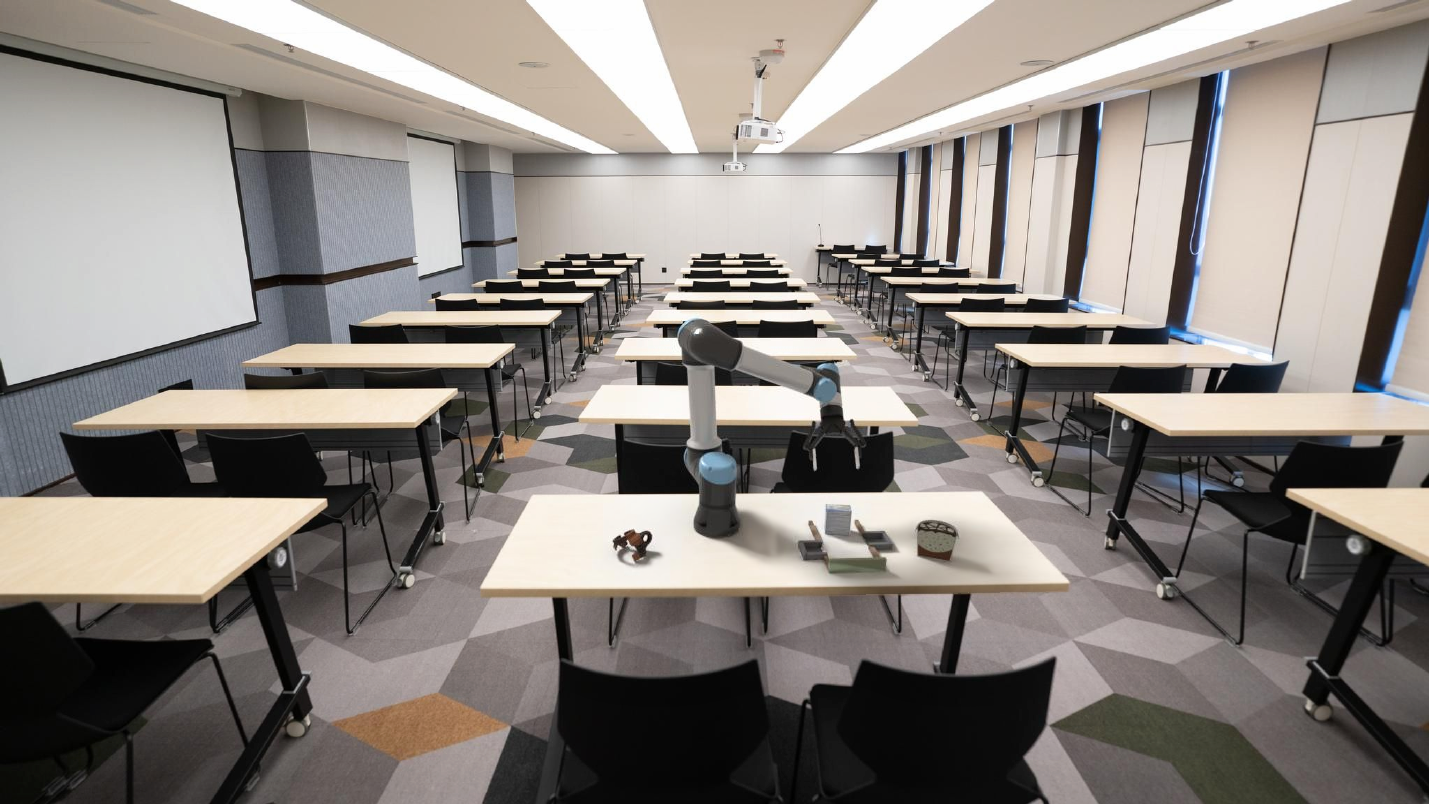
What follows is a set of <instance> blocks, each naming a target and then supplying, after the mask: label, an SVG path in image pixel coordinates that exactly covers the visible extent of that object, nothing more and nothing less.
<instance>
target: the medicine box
mask: <svg viewBox="0 0 1429 804" xmlns="http://www.w3.org/2000/svg"><path fill="white" fill-rule="evenodd" d="M824 512H825V513H824V524H823V525H824V534H826V535H838V536H839V535H841V536H843V535H844V536H850V534H851V524H852V523H851V522H852V516H853V515H852V512H853V511H852V507H851V505H850V504H835V503H826V504H825V511H824Z"/></svg>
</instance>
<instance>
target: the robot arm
mask: <svg viewBox="0 0 1429 804" xmlns="http://www.w3.org/2000/svg"><path fill="white" fill-rule="evenodd" d="M676 337H677V338H676V339H677V343H678V345H679V347H680V348H681V362H682V365H683V366H684V367H685V368H686V369H687V370H686V371H687V389H688V390H687V391H688V404H689V406H688V407H689V410H688V411H689V425H690V428H689V429H690V438H688V440H687V441H686V449H685V451H684V454H683V461H684V464H685V467H686V469H687V471H688V472H689V473H690V474H691V476H692V477H693V478H694V480H695V481H696V483H697V484H698V488H699V489H698V491H699V495H698V496H699V497H698V506H697V508H696V510H695V514H694V516H693V522H692V523H693V529H694V530H695V531H696V532H697V533H698V534H700V535H703V536H705V537H706V536H707V537H710V538H725V537H730V536H733V535H735V534H737V533H738V532H740V530H741V517H740V513H739V512H738V508H737V505H736V504H737V502H736V500H737V499H736V498H737V475H738V468H737V462H736V460H735V458H734V457H733V456H732V455H730V454H728V453H727V454H725V452H723V443H722V439H721V438H720V437H719V436H718V432H717V429H718V428H717V409H716V408H717V407H716V405H717V404H716V403H717V402H716V400H717V399H716V380H715V379H716V378H715V376H716V375H715V367H717V368H720V369H723V370H726V371H729V372H732V371H734V370H736V371H739V372H742V373H744V374H747V375H749V376H753V377H756V378H758V379H761V380H764V381H767V382H770V383H773V384H775V385H778V386H781V387H783V388H787V389H789V390H792V391H795V392H797V393H799V394H803V395H805V396H808V397H811V398H813V399H815V400H816V401H818V403H819V408H820V410H819V414H820V421H819V422H818V421H815V420H812V422H811V427H810V430H809V431H808V434H807V436H806V439H805V441H804V442H803V446H802V447H803V450H804V451H808V453H809V455H808V456H809V457H808V458H809V460H810V461H812V463H813V471H814V472H815V471H817V469H818V467H817V458H816V457H817V454H816V447H817V445H818V444H819V443H820V442H821V441H822V439H823V438H824V437H825V436H826V435H828V436H832V435H834V436H835V435H836V436H838V435H841V436H842V437H844V438H845V439H846V440H848V442H849V443H850V444H851V445H852V446H853V447H854V458H855V459H854V460H855V467H856V469H857V470H859V469H860V459H861V458H862V457H863V453H862V451H863V450H862V448H865V447H866V446H867V441H866V440H865V438H864V437H863V435H862V434H861V432H860V431H859V429H858V428H857V427H856V424H855V420H854V418H850V420H845V417H844V410H843V409H844V408H843V399H842V390H841V388H842V387H841V375H840V371H839V368H838V366H837V365H836V364H835V363H830V362H829V363H826V362H825V363H822V364H820V365H818V366H817V368H816V367H811V366H805V365H802V364H794V363H790V362H787V361H784V360H782V359H779V358H777V357H774V356H771V355H769V354H766V353H763V352H761V351H759V350H756V349H754V348H750V347H749V346H745V345H744V344H743V342H742V340H740V339H737V338H734V337H733V336H730V335H729V334H727V333H726V332H724V331H722V330H721V329H720V328H718V327H717V326H715V325H713V324H712V323H711V322H710V321H708V320H706V319H704V318H698V317H695V318H690V319H687V320H685V322H684V323H682V325H681V326H680V327H679V329H678V332H677V336H676ZM846 426H847V427H848V428H849V429H850V430H851V432H852V433H853V435H854V436H853V435H851V434H850V432H848V431H847V429H846V428H845V427H846ZM819 427H820V428H821V431H820V432H819V433H818V435H817V436H816V438H815V439H814V440H813V441H812V438H813V436H814V435H815V434H814V433H815V432H816V430H817V429H818V428H819ZM811 441H812V442H811Z"/></svg>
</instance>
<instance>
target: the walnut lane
mask: <svg viewBox="0 0 1429 804" xmlns="http://www.w3.org/2000/svg"><path fill="white" fill-rule="evenodd" d="M853 524H854V526H855V528H856V529H857V531H858V533H859V535H860V537H861V538H862V539H863V538H864V537H863V533H862V531H866V530H865V528H864V527H863V525H862V524H861V521H860V520H859V519H854V523H853ZM808 527H809V530H810V532H811V535H812V536H813V538H814V539H813V540H822V539H821V537H820V535H819V532H818V530H817V528H816V526H815V524H814V521H813V520H811V519H809V520H808ZM865 536H866V535H865ZM821 544H822V545H823V542H822V543H821ZM818 547H819V545H818ZM867 547H869V548H868V551H869V553H870V554H871V557H870V556H869V557H835V558H834V557H833V558H831V557H830V556H829V555H828V556H824V560H823V562H824V566H825V567H826V570H827V571H828V573H829V574H836V573H837V574H842V573H850V574H851V573H885V572H887V571H886V570H887V560H888V559H887V557H886V556H880V554H879V552H878V550H876V549H875V548H874V546H868V545H867Z"/></svg>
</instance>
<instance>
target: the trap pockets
mask: <svg viewBox="0 0 1429 804" xmlns="http://www.w3.org/2000/svg"><path fill="white" fill-rule="evenodd" d="M862 533H863V537H864V538H862V539H863V540H864V542H865V543H866V544H867V547H868V546H874V548H875V549H876V551H893V550H894V549H893V548H894V543H893V541H892V540H891V539H890V537H889V536H888V534H887V532H886V531H885V530H865V531H862ZM865 535H866V536H865ZM821 543H822V544H821ZM818 545H819V547H818ZM797 548H798V551H799V552H800V555H801V559H802V561H824V556H828V557H829V553H828V551H823V540H822V539H821V540H815V539H809V540H808V539H807V540H806V539H804V540H803V539H802V540H801V539H799V540H798V543H797ZM868 548H869V547H868Z"/></svg>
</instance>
